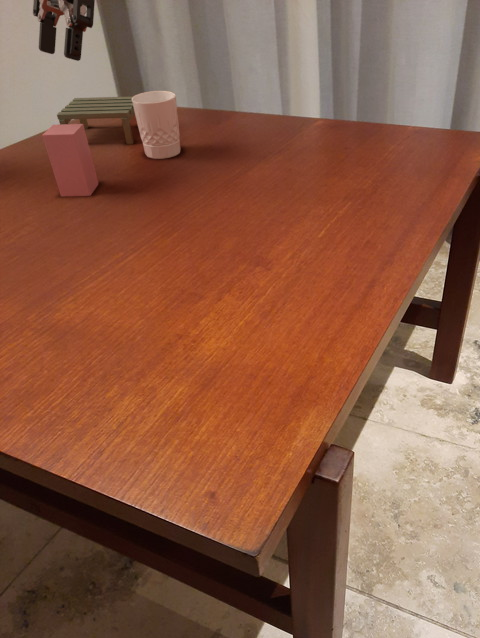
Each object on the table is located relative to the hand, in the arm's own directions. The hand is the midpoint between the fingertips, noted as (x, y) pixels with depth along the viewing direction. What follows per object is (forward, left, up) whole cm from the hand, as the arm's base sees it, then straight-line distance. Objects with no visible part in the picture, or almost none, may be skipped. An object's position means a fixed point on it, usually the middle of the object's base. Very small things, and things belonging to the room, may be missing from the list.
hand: (59, 55), depth 82 cm
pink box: (-2, -1, -20) cm, 20 cm away
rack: (-5, +27, -20) cm, 34 cm away
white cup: (+9, +16, -20) cm, 27 cm away
